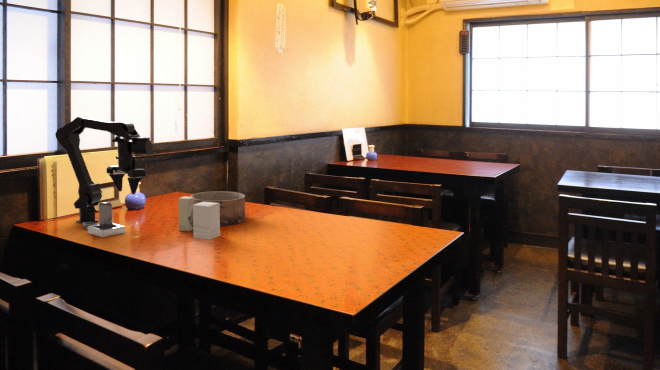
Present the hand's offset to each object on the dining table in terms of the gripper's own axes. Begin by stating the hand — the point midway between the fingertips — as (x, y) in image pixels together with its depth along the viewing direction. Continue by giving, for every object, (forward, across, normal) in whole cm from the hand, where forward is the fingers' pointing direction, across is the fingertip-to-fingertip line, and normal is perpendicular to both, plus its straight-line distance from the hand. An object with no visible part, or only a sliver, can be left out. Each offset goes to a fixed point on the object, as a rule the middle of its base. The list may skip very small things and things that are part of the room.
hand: (126, 192), depth 213 cm
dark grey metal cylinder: (+13, -6, +13) cm, 19 cm away
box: (+13, -24, -10) cm, 29 cm away
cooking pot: (+14, -20, -30) cm, 38 cm away
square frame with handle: (+13, -1, +13) cm, 18 cm away
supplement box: (+13, -38, -8) cm, 41 cm away
